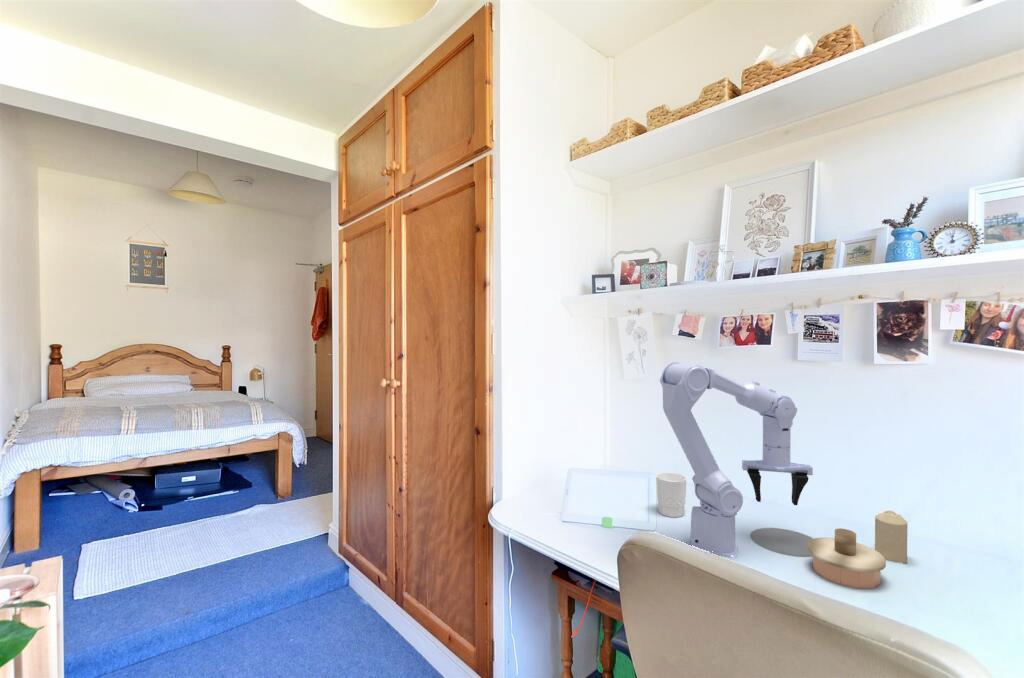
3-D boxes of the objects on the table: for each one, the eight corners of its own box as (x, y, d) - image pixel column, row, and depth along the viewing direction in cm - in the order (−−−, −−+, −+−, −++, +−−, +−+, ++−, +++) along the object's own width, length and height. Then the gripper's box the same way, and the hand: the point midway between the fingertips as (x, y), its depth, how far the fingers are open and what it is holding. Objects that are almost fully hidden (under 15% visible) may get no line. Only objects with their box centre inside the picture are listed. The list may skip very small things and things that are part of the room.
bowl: (816, 581, 94) (816, 561, 93) (810, 557, 103) (810, 539, 103) (885, 595, 88) (885, 574, 88) (872, 568, 98) (872, 550, 98)
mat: (749, 549, 107) (749, 548, 107) (750, 525, 120) (750, 523, 120) (828, 564, 100) (828, 562, 100) (819, 536, 113) (819, 535, 113)
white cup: (689, 519, 124) (689, 482, 124) (658, 517, 126) (658, 480, 125) (683, 508, 132) (683, 472, 132) (654, 506, 134) (654, 471, 133)
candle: (875, 549, 107) (875, 506, 106) (906, 557, 103) (907, 512, 103) (874, 559, 102) (874, 513, 102) (907, 567, 99) (907, 520, 99)
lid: (808, 561, 94) (808, 537, 94) (807, 536, 105) (807, 515, 105) (891, 578, 87) (891, 553, 87) (880, 549, 98) (880, 527, 98)
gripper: (745, 447, 109) (745, 504, 109) (816, 451, 105) (816, 511, 105) (740, 440, 116) (740, 494, 116) (807, 444, 111) (807, 500, 112)
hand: (776, 502), depth 111 cm, fingers open, 7 cm apart
